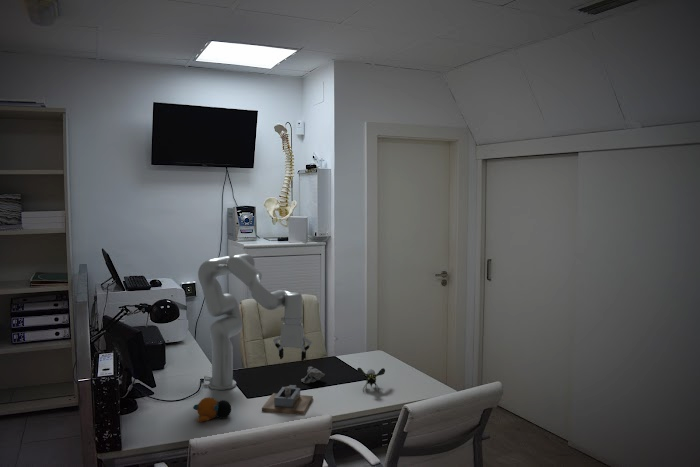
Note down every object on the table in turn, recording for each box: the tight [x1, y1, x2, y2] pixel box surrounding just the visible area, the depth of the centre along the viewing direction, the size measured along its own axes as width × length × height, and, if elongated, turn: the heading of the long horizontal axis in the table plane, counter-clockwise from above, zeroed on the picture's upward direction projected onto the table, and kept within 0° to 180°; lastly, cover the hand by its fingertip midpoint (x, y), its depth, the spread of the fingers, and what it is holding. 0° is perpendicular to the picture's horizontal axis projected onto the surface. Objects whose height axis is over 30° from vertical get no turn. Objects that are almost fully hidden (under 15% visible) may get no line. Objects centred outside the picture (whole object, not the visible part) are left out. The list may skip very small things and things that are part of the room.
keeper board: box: [261, 385, 314, 415], centre depth 244 cm, size 18×17×8 cm
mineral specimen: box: [300, 366, 326, 384], centre depth 273 cm, size 10×8×10 cm
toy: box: [193, 397, 232, 423], centre depth 229 cm, size 12×10×15 cm
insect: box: [356, 367, 386, 393], centre depth 263 cm, size 13×16×10 cm
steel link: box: [274, 384, 301, 408], centre depth 245 cm, size 16×8×4 cm, turn 172°
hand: (292, 359), depth 250 cm, fingers open, 9 cm apart
